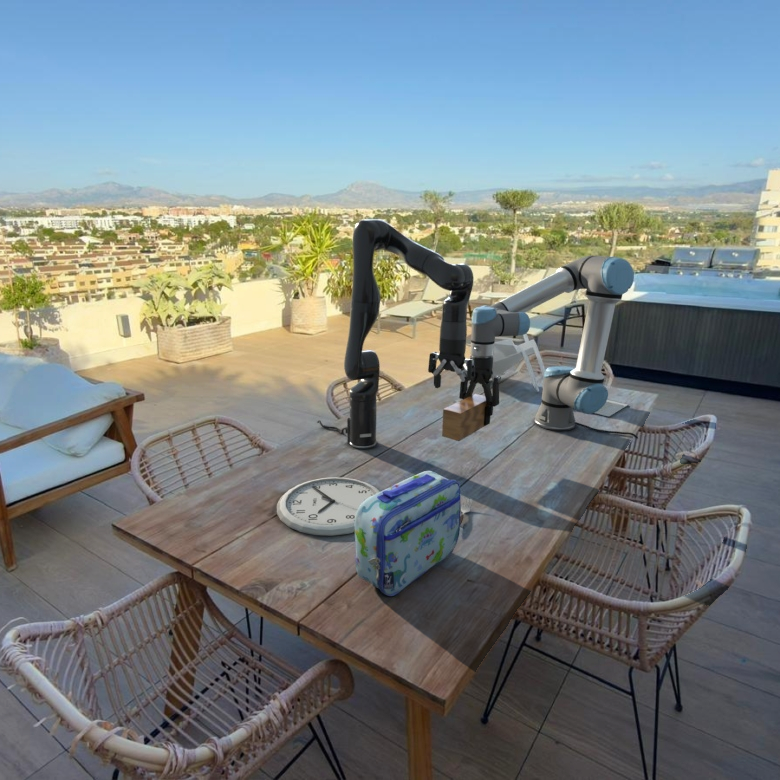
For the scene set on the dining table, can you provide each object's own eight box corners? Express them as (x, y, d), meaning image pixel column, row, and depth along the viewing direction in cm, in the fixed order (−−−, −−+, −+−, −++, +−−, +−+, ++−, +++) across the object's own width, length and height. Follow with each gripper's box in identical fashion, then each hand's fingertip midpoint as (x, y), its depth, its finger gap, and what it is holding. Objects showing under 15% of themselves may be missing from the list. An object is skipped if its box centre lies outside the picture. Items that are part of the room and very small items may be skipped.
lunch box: (383, 609, 104) (384, 516, 98) (348, 583, 111) (347, 495, 105) (463, 555, 122) (469, 473, 115) (429, 536, 129) (432, 458, 123)
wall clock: (392, 527, 129) (268, 531, 127) (391, 533, 130) (269, 537, 127) (383, 473, 158) (282, 475, 155) (383, 478, 158) (282, 480, 156)
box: (473, 419, 181) (475, 393, 178) (489, 423, 177) (491, 397, 174) (442, 436, 165) (443, 408, 163) (459, 441, 162) (460, 413, 159)
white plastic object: (484, 420, 263) (463, 398, 239) (465, 347, 285) (445, 319, 261) (556, 396, 251) (542, 370, 226) (530, 322, 273) (515, 290, 248)
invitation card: (608, 416, 214) (573, 407, 224) (608, 416, 214) (573, 408, 224) (628, 404, 229) (594, 396, 238) (628, 405, 229) (594, 397, 238)
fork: (449, 533, 130) (450, 526, 130) (463, 503, 145) (463, 496, 144) (459, 535, 129) (460, 528, 129) (472, 505, 144) (473, 498, 143)
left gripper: (424, 334, 150) (422, 388, 155) (468, 341, 142) (465, 398, 147) (438, 331, 156) (436, 383, 161) (481, 337, 148) (477, 392, 152)
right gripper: (450, 353, 172) (447, 418, 179) (503, 362, 161) (498, 432, 168) (461, 349, 178) (458, 412, 185) (514, 358, 167) (508, 425, 174)
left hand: (450, 390), depth 154 cm, fingers open, 8 cm apart
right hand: (477, 421), depth 176 cm, fingers closed on box, 6 cm apart
